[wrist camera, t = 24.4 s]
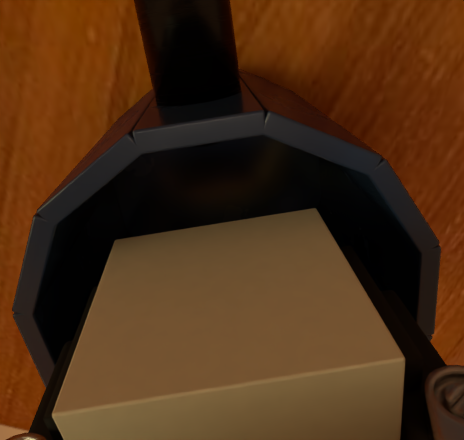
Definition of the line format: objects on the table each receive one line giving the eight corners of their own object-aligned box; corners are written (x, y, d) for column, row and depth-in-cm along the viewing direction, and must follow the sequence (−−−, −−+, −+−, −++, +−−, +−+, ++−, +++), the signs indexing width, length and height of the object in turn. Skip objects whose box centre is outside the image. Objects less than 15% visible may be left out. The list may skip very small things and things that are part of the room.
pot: (90, 486, 12) (-385, -545, 5) (137, 290, 21) (4, -167, 14) (426, 433, 12) (518, -692, 5) (331, 260, 21) (308, -215, 14)
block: (158, 383, 12) (137, 589, 8) (114, 239, 10) (49, 416, 6) (324, 356, 13) (394, 548, 8) (316, 206, 10) (407, 358, 6)
